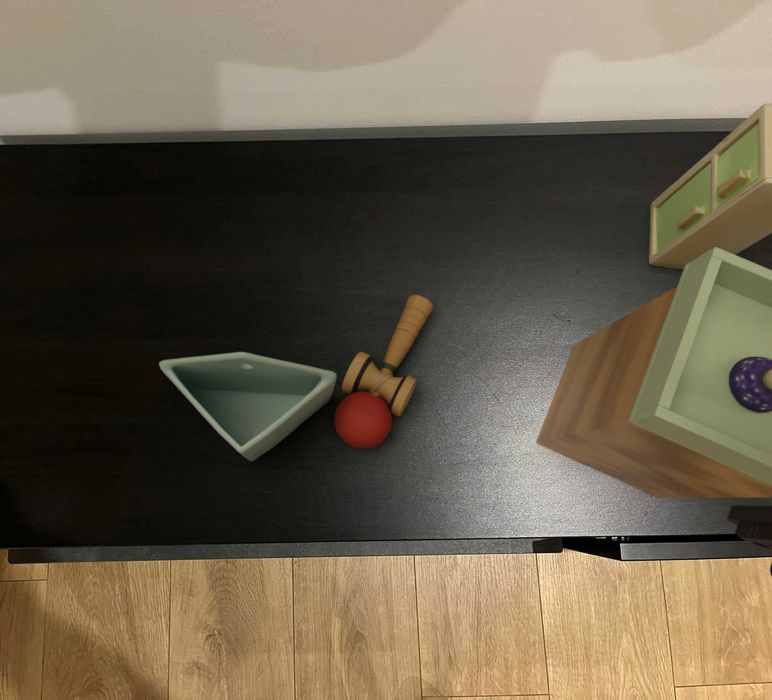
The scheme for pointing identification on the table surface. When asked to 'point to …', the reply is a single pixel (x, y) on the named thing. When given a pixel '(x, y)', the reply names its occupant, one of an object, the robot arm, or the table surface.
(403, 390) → the kendama
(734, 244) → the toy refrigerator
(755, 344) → the box
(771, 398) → the toy lamp
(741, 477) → the stand
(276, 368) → the planter
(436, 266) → the table surface
